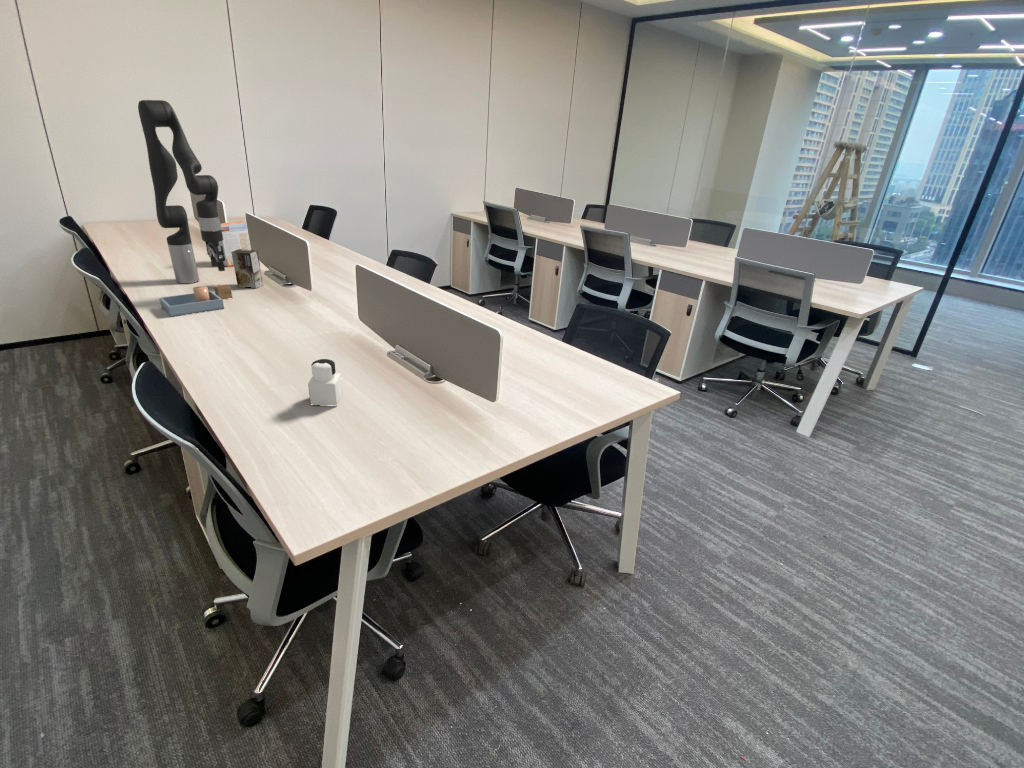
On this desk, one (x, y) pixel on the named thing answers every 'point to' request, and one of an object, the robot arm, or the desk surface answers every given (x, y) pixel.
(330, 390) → the white blocky figurine
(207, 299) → the tan capsule
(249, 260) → the coffee box
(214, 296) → the tote
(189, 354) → the desk surface
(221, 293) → the walnut cube
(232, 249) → the cracker box
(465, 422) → the desk surface
